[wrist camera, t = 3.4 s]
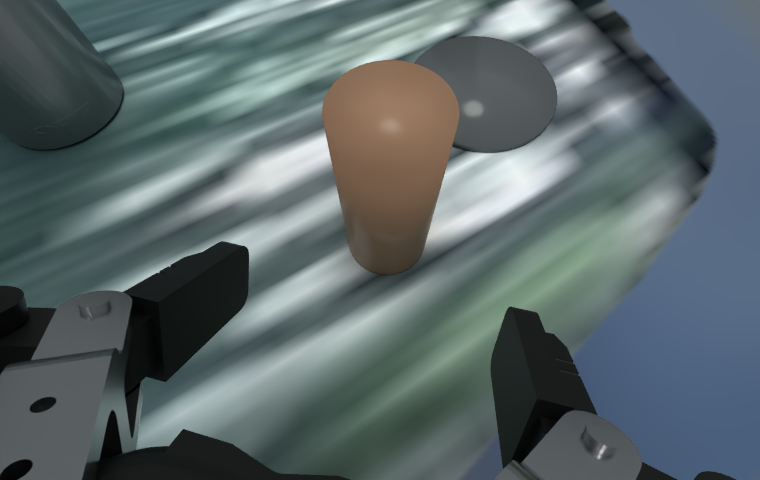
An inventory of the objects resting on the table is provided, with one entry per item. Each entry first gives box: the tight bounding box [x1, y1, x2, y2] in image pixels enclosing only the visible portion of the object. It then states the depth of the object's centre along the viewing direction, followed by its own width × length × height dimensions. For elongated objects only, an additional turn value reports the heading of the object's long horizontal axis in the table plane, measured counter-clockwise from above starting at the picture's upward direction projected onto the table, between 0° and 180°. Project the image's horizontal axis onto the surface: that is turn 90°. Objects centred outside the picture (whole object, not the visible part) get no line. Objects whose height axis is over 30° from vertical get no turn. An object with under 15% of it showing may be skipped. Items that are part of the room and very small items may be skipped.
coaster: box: [414, 36, 557, 153], centre depth 30 cm, size 12×12×1 cm
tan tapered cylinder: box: [322, 60, 459, 275], centre depth 19 cm, size 5×5×12 cm
